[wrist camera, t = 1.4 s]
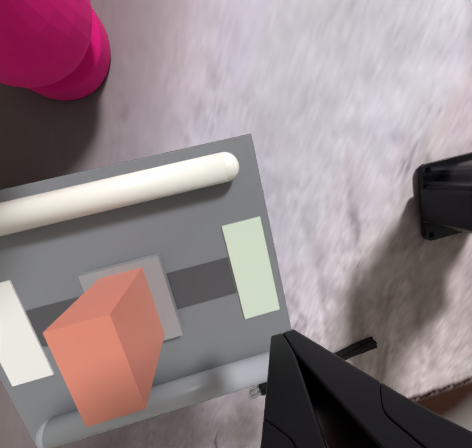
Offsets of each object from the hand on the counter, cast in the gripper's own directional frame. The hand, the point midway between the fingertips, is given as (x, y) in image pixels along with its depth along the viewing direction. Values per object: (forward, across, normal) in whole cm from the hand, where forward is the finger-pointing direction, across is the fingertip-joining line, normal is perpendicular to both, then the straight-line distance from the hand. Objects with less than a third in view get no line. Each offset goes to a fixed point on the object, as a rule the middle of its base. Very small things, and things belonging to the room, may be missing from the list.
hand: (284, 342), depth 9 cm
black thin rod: (+12, -4, +12) cm, 17 cm away
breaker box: (+11, +7, 0) cm, 13 cm away
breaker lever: (+7, +7, 0) cm, 10 cm away
